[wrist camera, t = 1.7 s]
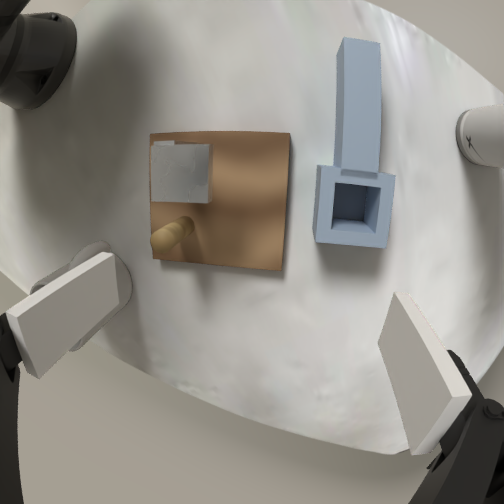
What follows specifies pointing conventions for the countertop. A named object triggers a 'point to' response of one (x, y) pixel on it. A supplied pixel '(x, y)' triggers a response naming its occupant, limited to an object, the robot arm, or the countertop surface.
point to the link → (356, 151)
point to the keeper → (181, 172)
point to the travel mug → (482, 135)
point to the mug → (121, 276)
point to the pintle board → (229, 204)
